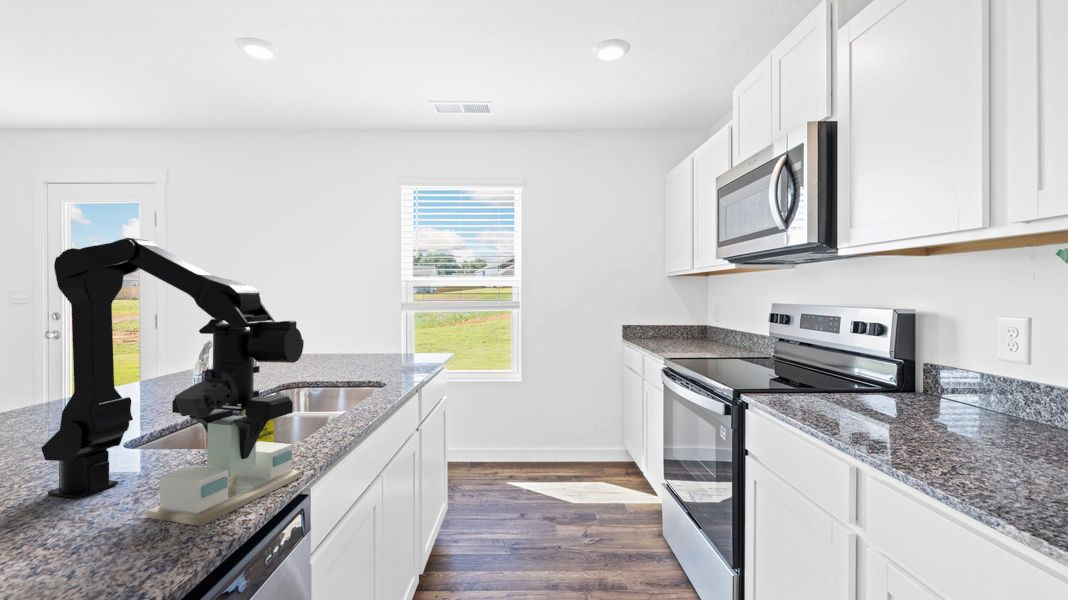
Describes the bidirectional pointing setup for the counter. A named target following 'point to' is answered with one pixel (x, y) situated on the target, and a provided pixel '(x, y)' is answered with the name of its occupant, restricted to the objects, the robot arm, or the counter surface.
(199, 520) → the mounting panel
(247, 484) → the grey flat piece
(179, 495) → the mounted modules
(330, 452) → the counter surface
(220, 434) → the loose module
